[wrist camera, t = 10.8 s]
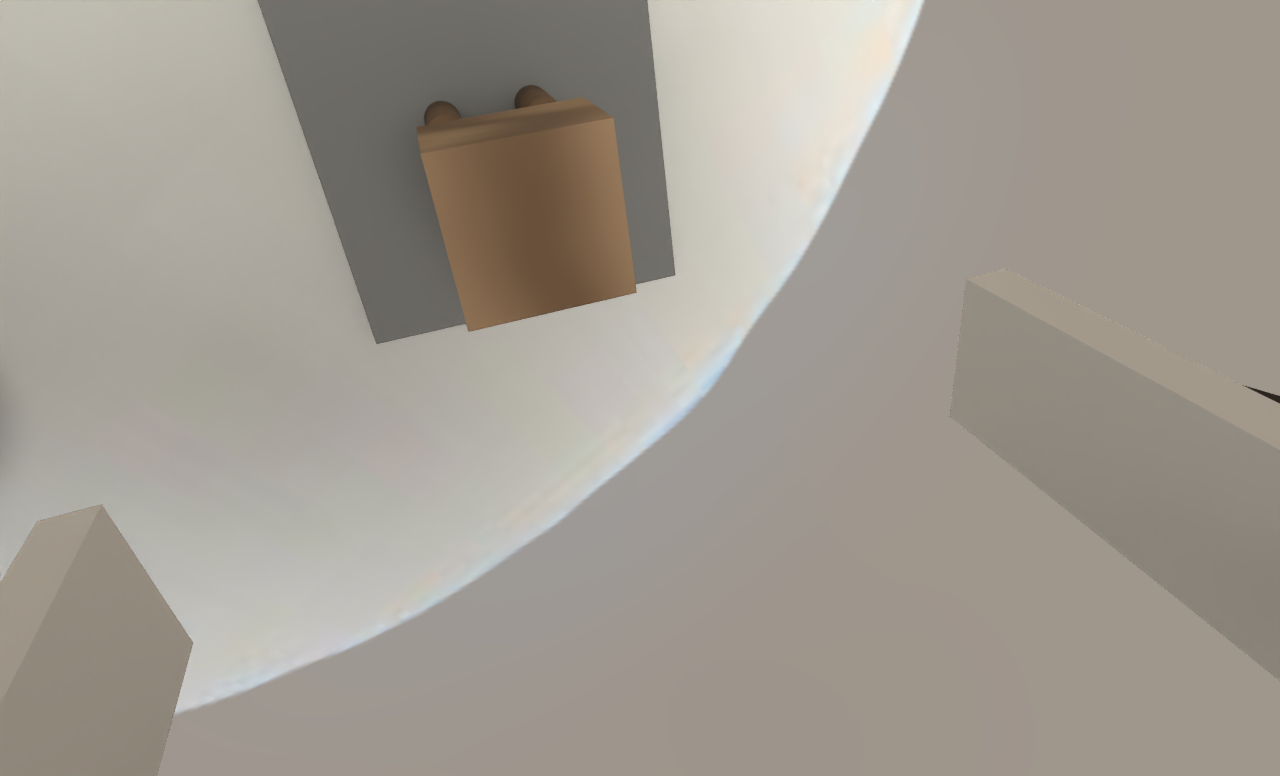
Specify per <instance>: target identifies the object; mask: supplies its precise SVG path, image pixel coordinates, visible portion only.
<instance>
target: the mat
mask: <svg viewBox="0 0 1280 776" xmlns="http://www.w3.org/2000/svg"><path fill="white" fill-rule="evenodd" d="M258 2H259V5H260V8H261V11H262V14H263V17H264V20H265V22H266V25H267V28H268V31H269V34H270V37H271V40H272V43H273V46H274V48H275V51H276V54H277V57H278V60H279V63H280V66H281V69H282V72H283V74H284V77H285V80H286V83H287V86H288V89H289V92H290V95H291V98H292V101H293V103H294V106H295V109H296V112H297V115H298V118H299V121H300V124H301V127H302V129H303V132H304V135H305V138H306V141H307V144H308V147H309V150H310V153H311V155H312V158H313V161H314V164H315V167H316V170H317V173H318V176H319V179H320V181H321V184H322V187H323V190H324V193H325V196H326V199H327V202H328V205H329V208H330V210H331V213H332V216H333V219H334V222H335V225H336V228H337V231H338V234H339V236H340V239H341V242H342V245H343V248H344V251H345V254H346V257H347V260H348V262H349V265H350V268H351V271H352V274H353V277H354V280H355V283H356V286H357V288H358V291H359V294H360V297H361V300H362V303H363V306H364V309H365V312H366V315H367V317H368V320H369V323H370V326H371V329H372V332H373V335H374V338H375V341H376V343H377V344H379V343H383V342H388V341H392V340H396V339H401V338H405V337H409V336H414V335H418V334H422V333H427V332H431V331H435V330H440V329H444V328H448V327H453V326H457V325H461V324H466V321H465V317H464V313H463V310H462V306H461V302H460V298H459V295H458V291H457V287H456V284H455V280H454V276H453V273H452V269H451V265H450V261H449V258H448V254H447V250H446V247H445V243H444V239H443V235H442V232H441V228H440V224H439V221H438V217H437V213H436V210H435V206H434V202H433V198H432V195H431V191H430V187H429V184H428V180H427V176H426V172H425V169H424V165H423V161H422V158H421V154H420V148H419V142H418V135H417V129H416V127H419V126H425V122H424V114H425V111H426V109H427V107H428V106H429V105H430V104H432V103H433V102H436V101H446V102H449V103H451V104H452V105H453V106H455V107H456V109H457V110H458V112H459V114H460V116H461V118H462V119H463V118H469V117H474V116H480V115H486V114H491V113H497V112H502V111H508V110H513V109H515V97H516V94H517V93H518V91H519V90H520V89H521V88H523V87H524V86H527V85H536V86H538V87H540V88H542V89H543V90H544V91H545V92H547V93H548V94H549V95H550V96H551V97H553V98H554V99H555V100H556V101H563V100H569V99H574V98H580V97H584V98H586V99H587V100H588V101H590V102H591V103H593V104H594V105H596V106H597V107H599V108H600V109H602V110H603V111H604V112H606V113H607V114H609V115H610V116H612V117H613V118H614V126H615V133H616V141H617V149H618V156H619V164H620V171H621V179H622V186H623V194H624V201H625V209H626V216H627V224H628V231H629V239H630V246H631V254H632V261H633V269H634V277H635V284H639V283H644V282H648V281H652V280H657V279H661V278H665V277H670V276H674V275H675V268H674V258H673V249H672V239H671V229H670V219H669V209H668V200H667V190H666V180H665V170H664V160H663V151H662V141H661V131H660V121H659V111H658V102H657V92H656V82H655V72H654V62H653V52H652V43H651V33H650V23H649V13H648V3H647V0H258Z"/></svg>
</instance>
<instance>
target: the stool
mask: <svg viewBox="0 0 1280 776" xmlns="http://www.w3.org/2000/svg"><path fill="white" fill-rule="evenodd" d="M424 122H425V126H419V127H416V129H417V135H418V142H419V148H420V154H421V158H422V161H423V165H424V169H425V172H426V176H427V180H428V184H429V187H430V191H431V195H432V198H433V202H434V206H435V210H436V213H437V217H438V221H439V224H440V228H441V232H442V235H443V239H444V243H445V247H446V250H447V254H448V258H449V261H450V265H451V269H452V273H453V276H454V280H455V284H456V287H457V291H458V295H459V298H460V302H461V306H462V310H463V313H464V317H465V321H466V324H467V328H468V332H469V331H474V330H478V329H482V328H487V327H491V326H495V325H500V324H504V323H508V322H512V321H517V320H521V319H525V318H530V317H534V316H538V315H543V314H547V313H551V312H555V311H560V310H564V309H568V308H573V307H577V306H581V305H585V304H590V303H594V302H598V301H603V300H607V299H611V298H616V297H620V296H624V295H628V294H633V293H637V292H636V284H635V277H634V269H633V261H632V254H631V246H630V239H629V231H628V224H627V216H626V209H625V201H624V194H623V186H622V179H621V171H620V164H619V156H618V149H617V141H616V133H615V126H614V118H613V117H612V116H610V115H609V114H607V113H606V112H604V111H603V110H602V109H600V108H599V107H597V106H596V105H594V104H593V103H591V102H590V101H588V100H587V99H586V98H584V97H580V98H574V99H569V100H563V101H556V100H555V99H554V98H553V97H551V96H550V95H549V94H548V93H547V92H545V91H544V90H543V89H542V88H540V87H538V86H536V85H527V86H524V87H523V88H521V89H520V90H519V91H518V93H517V94H516V97H515V109H513V110H508V111H502V112H497V113H491V114H486V115H480V116H474V117H469V118H463V119H462V118H461V116H460V114H459V112H458V110H457V109H456V107H455V106H453V105H452V104H451V103H449V102H446V101H436V102H433V103H432V104H430V105H429V106H428V107H427V109H426V111H425V114H424Z"/></svg>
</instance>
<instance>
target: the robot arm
mask: <svg viewBox="0 0 1280 776" xmlns="http://www.w3.org/2000/svg"><path fill="white" fill-rule="evenodd" d="M950 417H951V418H952V419H954V420H955V421H956V422H957V423H959V424H960V425H961V426H962V427H964V428H965V429H966V430H967V431H969V432H970V433H971V434H972V435H974V436H975V437H976V438H977V439H979V440H980V441H981V442H982V443H984V444H985V445H986V446H987V447H989V448H990V449H991V450H992V451H994V452H995V453H996V454H997V455H999V456H1000V457H1001V458H1002V459H1003V460H1005V461H1006V462H1007V463H1008V464H1010V465H1011V466H1012V467H1014V468H1015V469H1016V470H1017V471H1018V472H1020V473H1021V474H1022V475H1023V476H1025V477H1026V478H1027V479H1029V480H1030V481H1031V482H1032V483H1034V484H1035V485H1036V486H1037V487H1038V488H1040V489H1041V490H1042V491H1044V492H1045V493H1046V494H1047V495H1048V496H1050V497H1051V498H1052V499H1053V500H1055V501H1056V502H1057V503H1058V504H1060V505H1061V506H1062V507H1063V508H1065V509H1066V510H1067V511H1068V512H1070V513H1071V514H1072V515H1073V516H1075V517H1076V518H1077V519H1078V520H1080V521H1081V522H1082V523H1083V524H1085V525H1086V526H1087V527H1088V528H1090V529H1091V530H1092V531H1093V532H1095V533H1096V534H1097V535H1098V536H1100V537H1101V538H1102V539H1103V540H1105V541H1106V542H1107V543H1108V544H1109V545H1111V546H1112V547H1113V548H1114V549H1116V550H1117V551H1118V552H1119V553H1121V554H1122V555H1123V556H1124V557H1126V558H1127V559H1128V560H1129V561H1131V562H1132V563H1133V564H1135V565H1136V566H1137V567H1138V568H1139V569H1141V570H1142V571H1143V572H1144V573H1146V574H1147V575H1148V576H1149V577H1151V578H1152V579H1153V580H1154V581H1156V582H1157V583H1158V584H1160V585H1161V586H1162V587H1163V588H1164V589H1166V590H1167V591H1168V592H1170V593H1171V594H1172V595H1173V596H1174V597H1176V598H1177V599H1178V600H1179V601H1181V602H1182V603H1183V604H1184V605H1186V606H1187V607H1188V608H1189V609H1191V610H1192V611H1193V612H1194V613H1196V614H1197V615H1198V616H1199V617H1201V618H1202V619H1203V620H1204V621H1206V622H1207V623H1208V624H1209V625H1211V626H1212V627H1213V628H1214V629H1216V630H1217V631H1218V632H1219V633H1221V634H1222V635H1223V636H1224V637H1226V638H1227V639H1228V640H1229V641H1231V642H1232V643H1233V644H1235V645H1236V646H1237V647H1238V648H1239V649H1241V650H1242V651H1243V652H1244V653H1245V654H1247V655H1248V656H1249V657H1251V658H1252V659H1253V660H1254V661H1255V662H1257V663H1258V664H1259V665H1261V666H1262V667H1263V668H1264V669H1265V670H1267V671H1268V672H1269V673H1270V674H1272V675H1273V676H1274V677H1275V678H1277V679H1278V680H1279V681H1280V396H1278V395H1274V394H1271V393H1267V392H1264V391H1261V390H1257V389H1253V388H1250V387H1247V386H1244V385H1241V384H1239V383H1237V382H1235V381H1233V380H1231V379H1229V378H1227V377H1225V376H1223V375H1221V374H1219V373H1217V372H1215V371H1212V370H1210V369H1208V368H1206V367H1204V366H1202V365H1200V364H1198V363H1196V362H1194V361H1192V360H1190V359H1188V358H1186V357H1184V356H1182V355H1180V354H1178V353H1176V352H1174V351H1172V350H1170V349H1168V348H1166V347H1164V346H1162V345H1160V344H1158V343H1156V342H1154V341H1152V340H1150V339H1148V338H1146V337H1144V336H1141V335H1140V334H1138V333H1136V332H1134V331H1131V330H1130V329H1127V328H1125V327H1123V326H1121V325H1119V324H1117V323H1115V322H1113V321H1111V320H1109V319H1107V318H1105V317H1103V316H1101V315H1099V314H1097V313H1095V312H1093V311H1091V310H1089V309H1087V308H1085V307H1083V306H1081V305H1079V304H1077V303H1075V302H1073V301H1071V300H1069V299H1067V298H1065V297H1063V296H1060V295H1059V294H1057V293H1054V292H1052V291H1050V290H1049V289H1047V288H1044V287H1042V286H1040V285H1038V284H1036V283H1034V282H1032V281H1030V280H1028V279H1026V278H1024V277H1022V276H1020V275H1018V274H1016V273H1014V272H1012V271H1010V270H1008V269H1003V270H999V271H994V272H991V273H987V274H983V275H979V276H975V277H971V278H968V279H966V285H965V292H964V301H963V310H962V318H961V326H960V335H959V342H958V351H957V359H956V367H955V376H954V384H953V392H952V401H951V409H950ZM192 645H193V642H192V640H191V639H190V637H189V636H188V634H187V633H186V631H185V630H184V628H183V627H182V625H181V624H180V622H179V621H178V619H177V618H176V616H175V615H174V613H173V612H172V610H171V608H170V607H169V605H168V604H167V602H166V601H165V599H164V598H163V596H162V595H161V593H160V592H159V590H158V589H157V587H156V586H155V584H154V583H153V581H152V580H151V578H150V577H149V575H148V574H147V572H146V571H145V569H144V568H143V566H142V565H141V563H140V562H139V560H138V559H137V557H136V556H135V554H134V553H133V551H132V549H131V548H130V546H129V545H128V543H127V542H126V540H125V539H124V537H123V536H122V534H121V533H120V531H119V530H118V528H117V527H116V525H115V524H114V522H113V521H112V519H111V518H110V516H109V515H108V513H107V512H106V510H105V509H104V507H103V506H102V504H101V505H97V506H93V507H89V508H86V509H82V510H78V511H74V512H70V513H66V514H63V515H59V516H55V517H51V518H47V519H43V520H40V521H37V523H36V525H35V526H34V528H33V529H32V531H31V533H30V534H29V536H28V538H27V539H26V541H25V543H24V544H23V546H22V548H21V549H20V551H19V553H18V554H17V556H16V558H15V559H14V561H13V563H12V564H11V566H10V567H9V569H8V571H7V572H6V574H5V576H4V577H3V579H2V581H1V582H0V776H157V775H158V771H159V767H160V763H161V760H162V756H163V752H164V748H165V745H166V741H167V737H168V733H169V730H170V726H171V723H172V719H173V715H174V712H175V708H176V704H177V701H178V697H179V693H180V689H181V686H182V682H183V678H184V675H185V671H186V667H187V664H188V660H189V656H190V652H191V649H192Z"/></svg>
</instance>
